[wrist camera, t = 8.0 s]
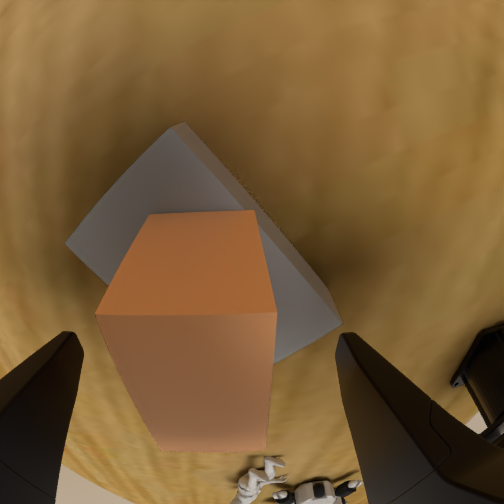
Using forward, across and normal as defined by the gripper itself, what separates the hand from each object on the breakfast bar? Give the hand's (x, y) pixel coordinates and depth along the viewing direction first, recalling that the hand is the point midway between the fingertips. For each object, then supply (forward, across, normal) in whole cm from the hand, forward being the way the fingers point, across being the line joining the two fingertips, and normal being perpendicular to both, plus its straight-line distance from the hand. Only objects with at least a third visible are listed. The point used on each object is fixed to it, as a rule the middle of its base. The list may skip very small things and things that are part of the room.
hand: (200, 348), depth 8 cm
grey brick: (+6, 0, 0) cm, 6 cm away
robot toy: (+6, -10, +38) cm, 40 cm away
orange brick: (+3, 0, 0) cm, 3 cm away
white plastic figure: (+6, -2, +27) cm, 28 cm away
